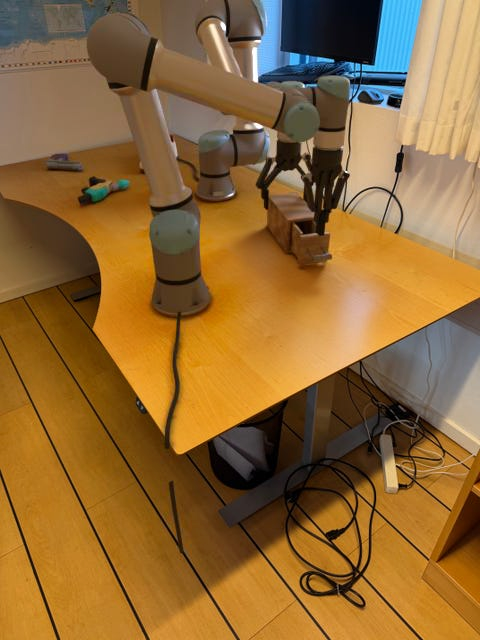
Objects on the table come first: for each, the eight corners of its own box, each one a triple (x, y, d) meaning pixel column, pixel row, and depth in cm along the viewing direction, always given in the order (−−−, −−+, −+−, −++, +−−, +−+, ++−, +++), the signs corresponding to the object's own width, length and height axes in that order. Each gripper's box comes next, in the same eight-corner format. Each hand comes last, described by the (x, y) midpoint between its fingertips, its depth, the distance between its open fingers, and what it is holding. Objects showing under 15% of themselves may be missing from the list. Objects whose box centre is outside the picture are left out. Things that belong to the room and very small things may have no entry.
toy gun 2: (55, 191, 179) (85, 198, 173) (101, 171, 197) (130, 177, 192) (57, 202, 181) (87, 209, 176) (103, 182, 200) (131, 187, 194)
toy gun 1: (94, 162, 221) (79, 173, 209) (58, 159, 224) (41, 170, 212) (93, 153, 219) (78, 164, 207) (56, 151, 222) (39, 161, 210)
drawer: (335, 271, 136) (339, 242, 130) (307, 276, 134) (309, 247, 128) (304, 234, 156) (306, 207, 150) (278, 237, 154) (279, 210, 148)
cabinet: (316, 249, 149) (319, 216, 142) (286, 253, 147) (288, 220, 140) (294, 222, 165) (296, 192, 158) (266, 226, 163) (267, 195, 156)
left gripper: (346, 140, 122) (336, 225, 136) (298, 144, 119) (293, 230, 133) (359, 148, 116) (347, 236, 130) (309, 153, 113) (302, 242, 127)
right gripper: (323, 132, 148) (317, 197, 161) (246, 139, 143) (246, 205, 156) (332, 139, 142) (325, 206, 155) (252, 146, 137) (252, 214, 150)
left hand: (319, 233), depth 131 cm, fingers closed
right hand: (285, 206), depth 156 cm, fingers open, 13 cm apart
